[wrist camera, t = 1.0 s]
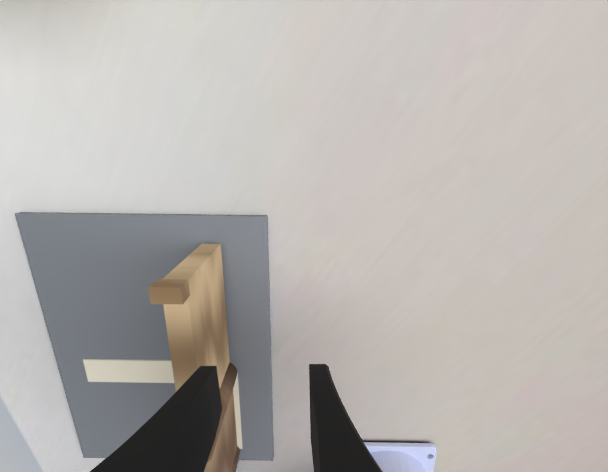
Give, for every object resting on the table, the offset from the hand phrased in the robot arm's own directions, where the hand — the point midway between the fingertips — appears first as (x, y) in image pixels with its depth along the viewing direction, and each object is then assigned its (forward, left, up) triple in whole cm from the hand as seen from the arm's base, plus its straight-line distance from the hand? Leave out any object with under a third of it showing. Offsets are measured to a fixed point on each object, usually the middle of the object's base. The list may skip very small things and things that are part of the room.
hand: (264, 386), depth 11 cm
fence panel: (-2, +5, -9) cm, 10 cm away
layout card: (-6, +9, -9) cm, 14 cm away
